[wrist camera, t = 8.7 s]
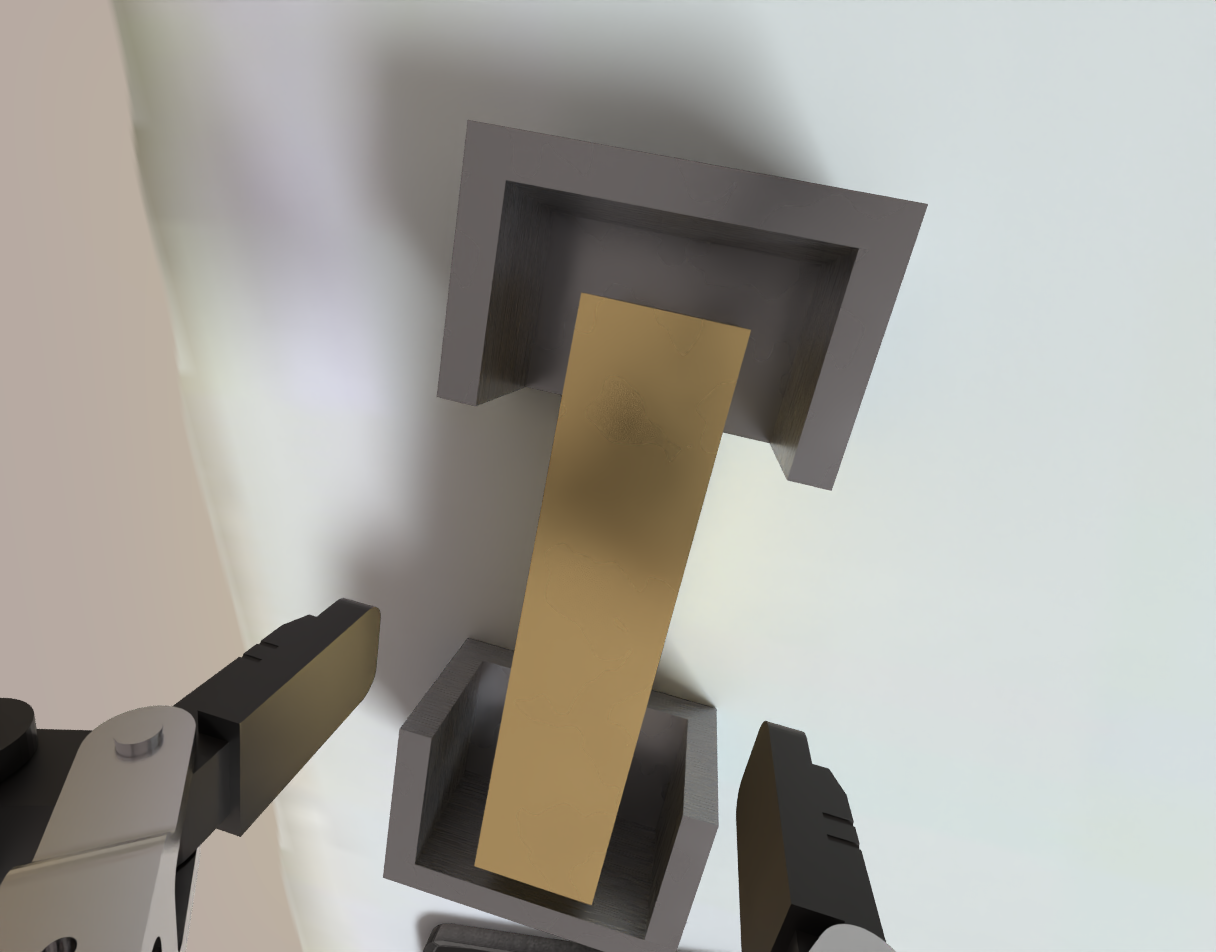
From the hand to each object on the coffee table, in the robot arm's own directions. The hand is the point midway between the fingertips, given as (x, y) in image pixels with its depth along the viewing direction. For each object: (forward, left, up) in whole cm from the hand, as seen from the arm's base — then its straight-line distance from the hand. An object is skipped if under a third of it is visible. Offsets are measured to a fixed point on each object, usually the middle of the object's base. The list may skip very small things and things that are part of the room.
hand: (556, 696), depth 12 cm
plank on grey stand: (0, 0, -8) cm, 8 cm away
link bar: (0, 0, -7) cm, 7 cm away
